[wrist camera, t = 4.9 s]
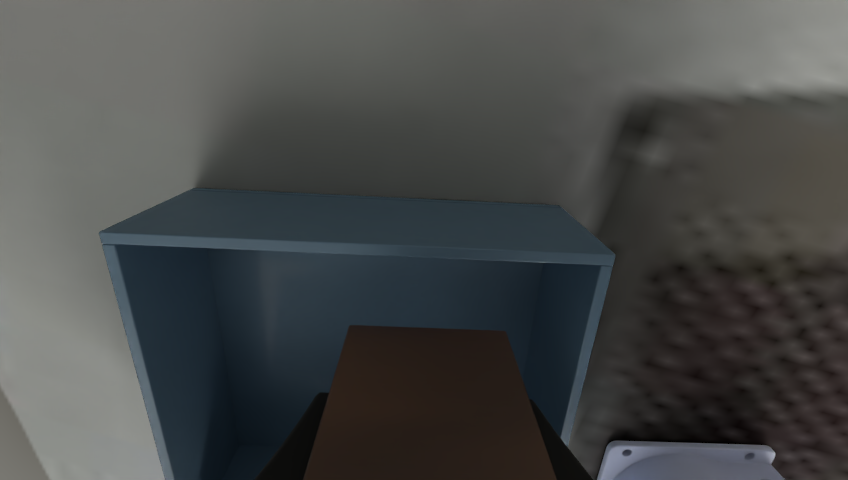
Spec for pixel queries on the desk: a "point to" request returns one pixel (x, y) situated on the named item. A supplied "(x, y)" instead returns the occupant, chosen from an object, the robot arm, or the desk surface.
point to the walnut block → (427, 409)
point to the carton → (334, 304)
